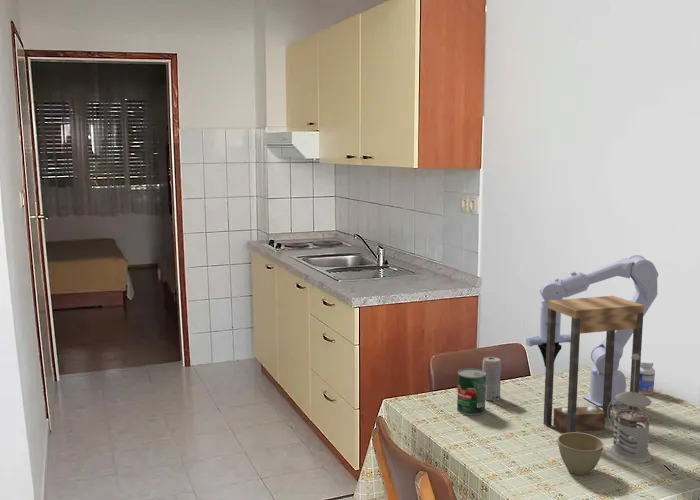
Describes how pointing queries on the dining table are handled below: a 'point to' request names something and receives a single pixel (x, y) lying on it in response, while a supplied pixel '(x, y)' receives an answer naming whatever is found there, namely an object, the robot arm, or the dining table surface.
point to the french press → (628, 446)
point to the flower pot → (580, 451)
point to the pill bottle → (646, 377)
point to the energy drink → (492, 377)
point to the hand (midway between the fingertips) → (548, 367)
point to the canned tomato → (471, 391)
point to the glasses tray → (581, 419)
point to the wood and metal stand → (588, 319)
